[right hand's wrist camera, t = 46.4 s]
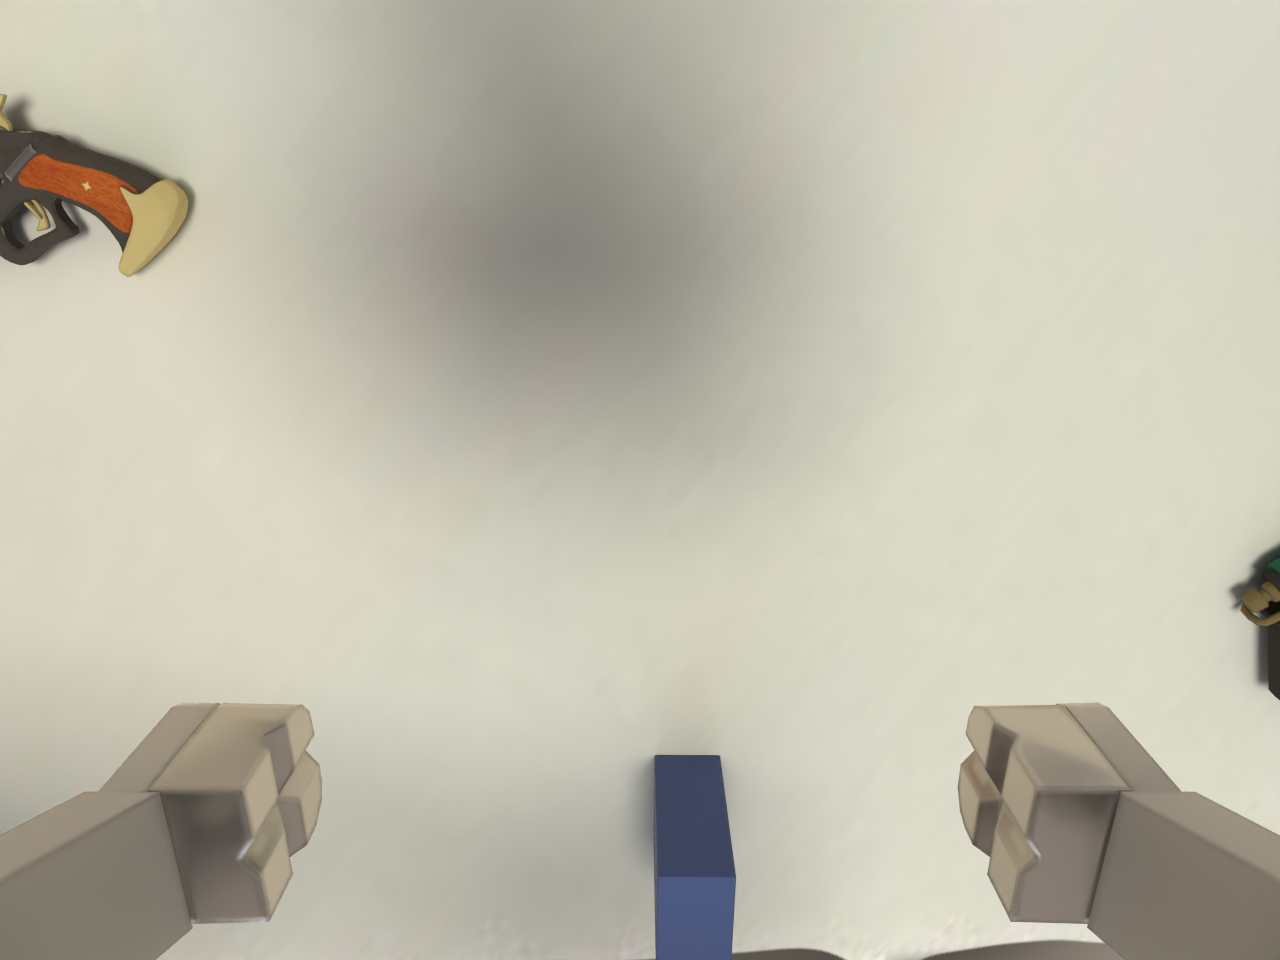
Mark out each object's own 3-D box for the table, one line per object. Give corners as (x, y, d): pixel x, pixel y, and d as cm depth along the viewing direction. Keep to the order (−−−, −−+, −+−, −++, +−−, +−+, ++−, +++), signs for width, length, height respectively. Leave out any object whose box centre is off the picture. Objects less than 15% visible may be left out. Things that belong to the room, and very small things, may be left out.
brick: (653, 843, 55) (656, 976, 46) (654, 755, 52) (657, 876, 43) (715, 844, 55) (730, 976, 46) (720, 755, 52) (736, 877, 43)
